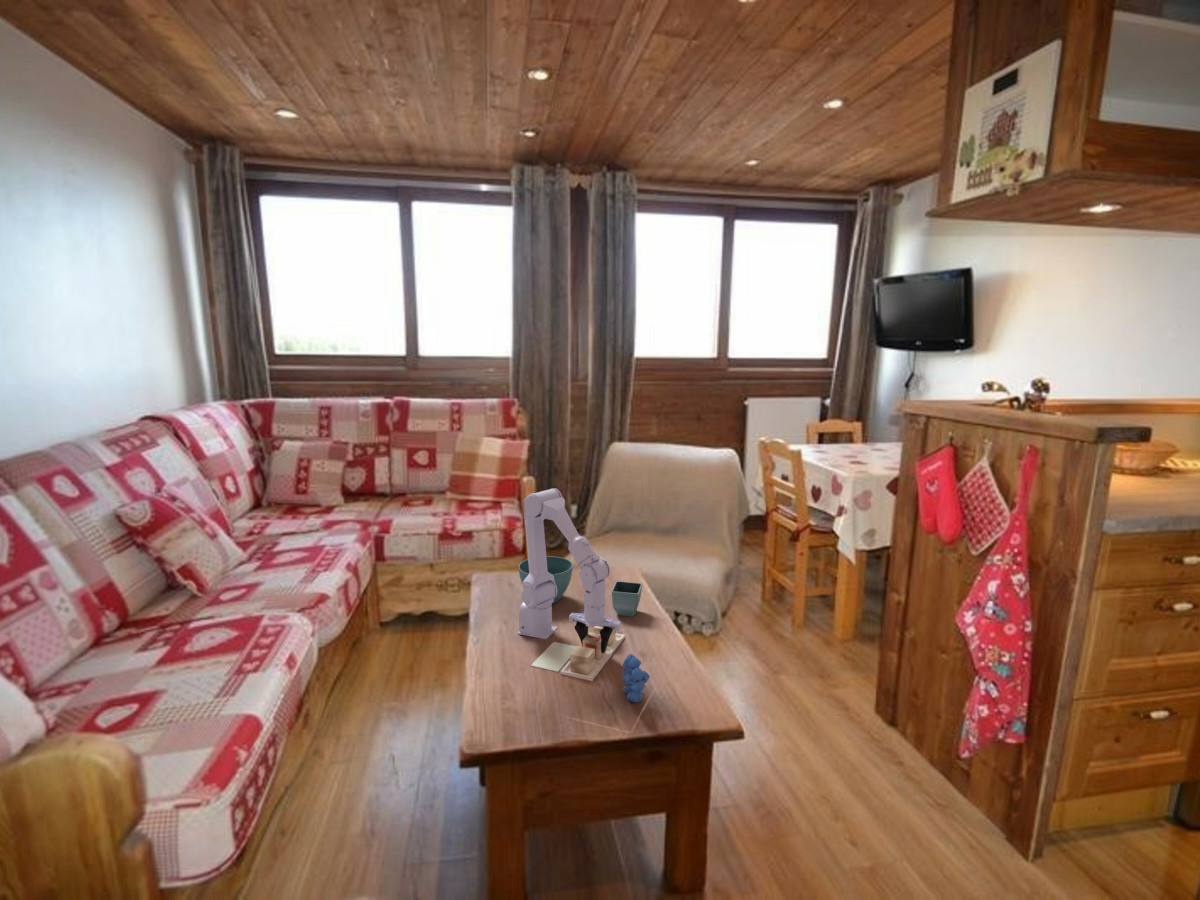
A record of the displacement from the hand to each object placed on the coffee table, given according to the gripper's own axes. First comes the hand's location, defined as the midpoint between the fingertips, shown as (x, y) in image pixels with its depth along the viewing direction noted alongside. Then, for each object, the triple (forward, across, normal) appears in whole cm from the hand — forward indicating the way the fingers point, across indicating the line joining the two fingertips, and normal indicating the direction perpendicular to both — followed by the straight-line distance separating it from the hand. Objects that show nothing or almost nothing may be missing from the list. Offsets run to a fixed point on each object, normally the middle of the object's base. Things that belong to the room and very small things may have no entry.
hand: (594, 649), depth 166 cm
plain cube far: (+2, 0, +8) cm, 8 cm away
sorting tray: (+2, 0, 0) cm, 2 cm away
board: (+2, -10, -5) cm, 11 cm away
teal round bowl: (+2, -30, +29) cm, 41 cm away
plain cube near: (+2, 0, -8) cm, 8 cm away
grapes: (+2, +18, -16) cm, 24 cm away
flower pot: (+2, 0, +29) cm, 29 cm away
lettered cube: (+2, 0, 0) cm, 2 cm away
